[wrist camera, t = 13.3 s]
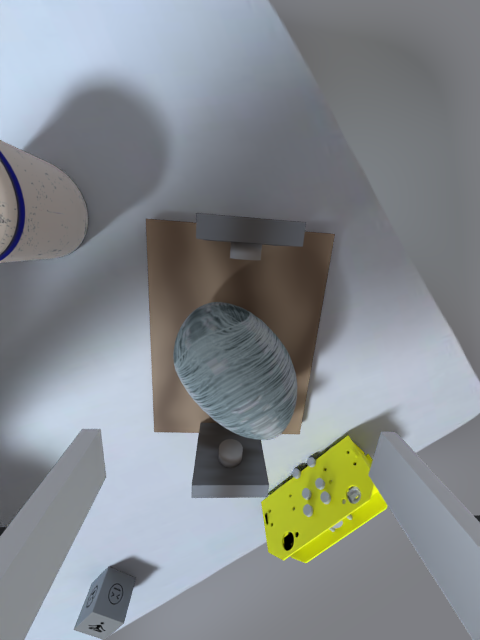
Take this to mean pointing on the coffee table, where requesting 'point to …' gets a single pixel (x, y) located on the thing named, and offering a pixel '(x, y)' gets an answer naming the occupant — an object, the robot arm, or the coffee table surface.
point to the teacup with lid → (37, 208)
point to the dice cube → (106, 604)
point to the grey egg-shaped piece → (236, 370)
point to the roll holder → (244, 291)
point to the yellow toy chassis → (321, 503)
